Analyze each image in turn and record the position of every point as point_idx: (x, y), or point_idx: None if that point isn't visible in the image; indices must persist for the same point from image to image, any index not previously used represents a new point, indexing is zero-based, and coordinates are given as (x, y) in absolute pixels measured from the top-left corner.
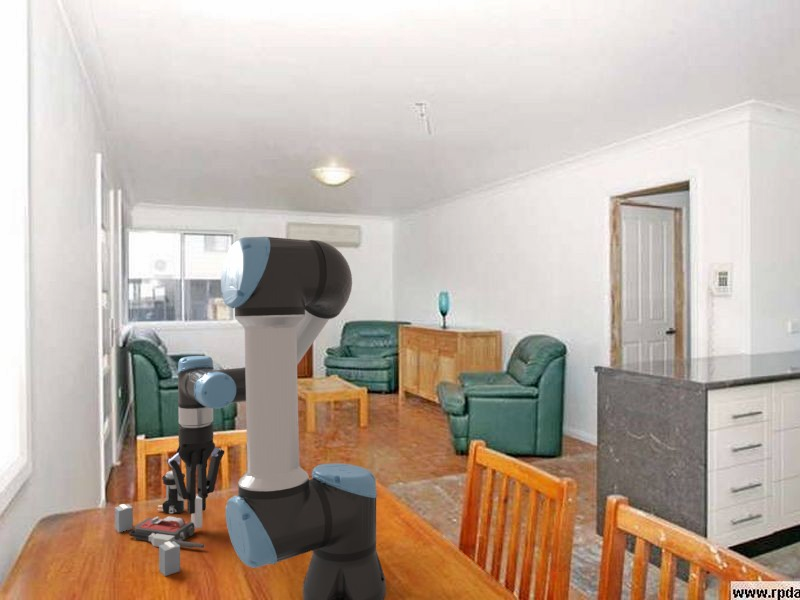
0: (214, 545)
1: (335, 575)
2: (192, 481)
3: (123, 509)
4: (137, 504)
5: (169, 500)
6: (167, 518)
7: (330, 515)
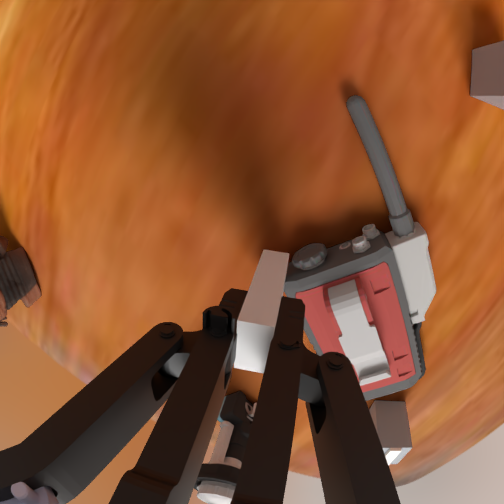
0: (294, 108)
1: None
2: (278, 429)
3: (400, 449)
4: None
5: None
6: (363, 347)
7: None
